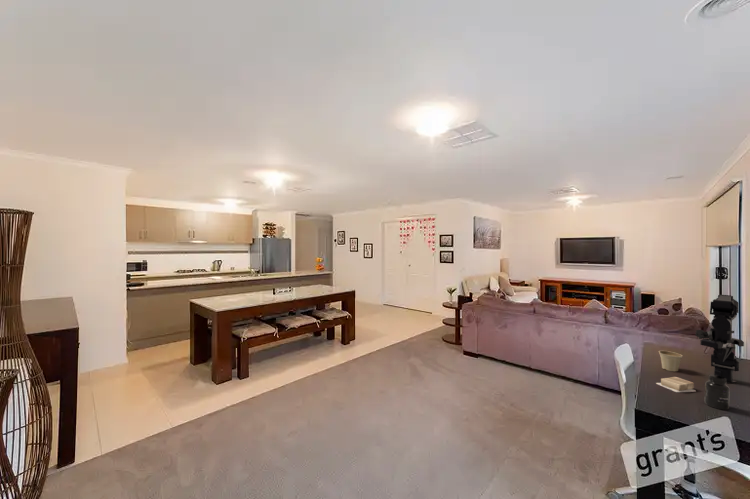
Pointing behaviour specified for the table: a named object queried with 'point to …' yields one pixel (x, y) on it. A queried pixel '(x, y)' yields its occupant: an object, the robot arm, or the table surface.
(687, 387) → the maple tile
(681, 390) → the felt mat
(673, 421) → the table surface
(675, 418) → the table surface
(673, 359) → the flower pot
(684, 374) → the table surface
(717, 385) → the supplement bottle
